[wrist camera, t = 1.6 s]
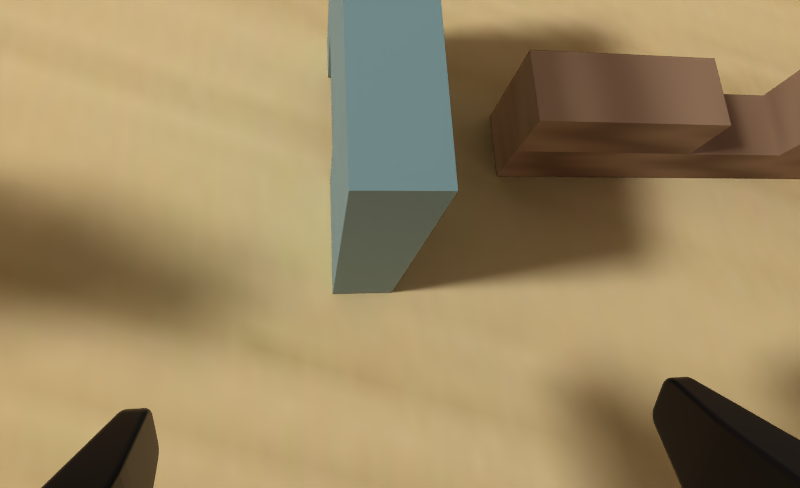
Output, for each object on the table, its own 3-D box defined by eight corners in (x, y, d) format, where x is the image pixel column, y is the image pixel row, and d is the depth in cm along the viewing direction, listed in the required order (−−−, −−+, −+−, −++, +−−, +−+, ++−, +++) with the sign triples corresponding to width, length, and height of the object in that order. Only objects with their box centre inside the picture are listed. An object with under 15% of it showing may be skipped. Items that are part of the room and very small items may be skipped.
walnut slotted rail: (858, 126, 29) (965, 70, 24) (875, 179, 28) (990, 132, 23) (489, 116, 26) (529, 49, 21) (496, 175, 25) (539, 120, 20)
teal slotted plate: (391, 292, 22) (458, 190, 12) (332, 293, 22) (348, 190, 12) (378, 41, 26) (422, -207, 15) (327, 39, 26) (336, -217, 15)
